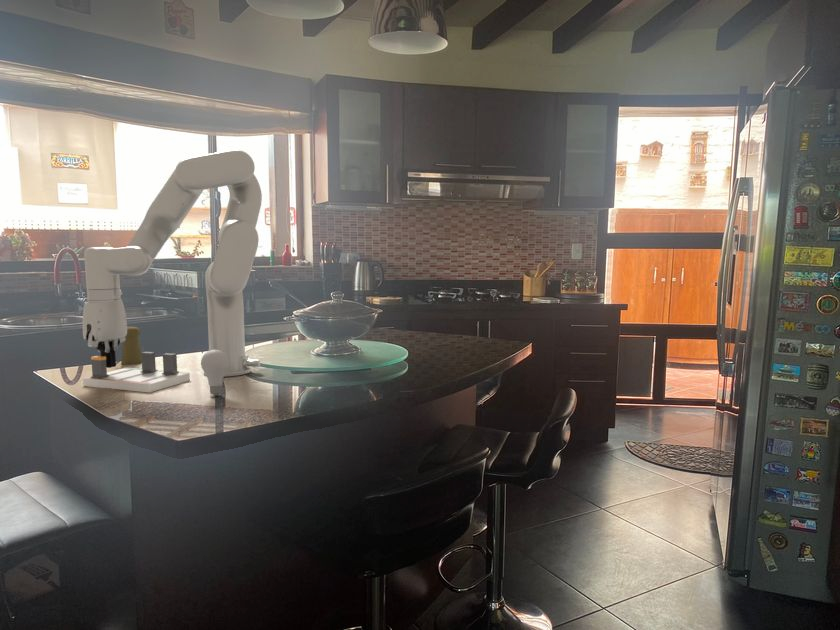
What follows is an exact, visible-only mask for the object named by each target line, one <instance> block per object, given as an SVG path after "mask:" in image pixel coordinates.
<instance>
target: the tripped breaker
mask: <svg viewBox="0 0 840 630" xmlns="http://www.w3.org/2000/svg"><path fill="white" fill-rule="evenodd" d="M90 360H91V373H92V375H91V377H90V376H89V377H90V378H102V377H106V376H109V375H107V372H108V371H107V369H108V368H107V367H106V357H105V356H101V355H94V356H91V357H90Z"/></svg>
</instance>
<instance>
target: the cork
mask: <svg viewBox="0 0 840 630" xmlns="http://www.w3.org/2000/svg"><path fill="white" fill-rule="evenodd" d="M140 335H141V330H140V327H137V326H127V335H126V336H125V338H126V340H125V341H124V342H122V351H121V359H120V360H121V363H120V364H121V365H124V366H125V365H126V366H128V365H129V366H130V365H133V366H134V365H138V364H142V359H141V353H142V348H141V343H140V340H139V337H140Z"/></svg>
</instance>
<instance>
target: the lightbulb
mask: <svg viewBox="0 0 840 630" xmlns="http://www.w3.org/2000/svg"><path fill="white" fill-rule="evenodd" d="M228 363H229V362H228V357H227V356H226V354H225V353H224V352H222V351H220V350H210V351H209V350H208V351H207V352H205V353H204V354H203V355H202V356H201V360H200V365H201V369H202V370H203V373H204V372H205V374H206V375H205V374H204V375H205V376H206V377H207V378H206V379H207V383H208V385H209V392H210V394H211V395H213V396H214V397H217V396H219V395H220V394H222V393H223V392H222V388H223V387H222V386H223V381H224V377H223V376H224V373H225V371H226V369H227V367H228Z"/></svg>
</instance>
